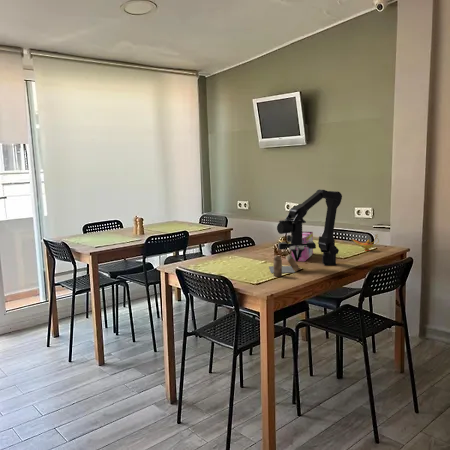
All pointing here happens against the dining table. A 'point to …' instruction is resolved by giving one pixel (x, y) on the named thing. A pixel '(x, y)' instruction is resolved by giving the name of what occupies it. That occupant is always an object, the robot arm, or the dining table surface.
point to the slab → (292, 262)
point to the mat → (283, 269)
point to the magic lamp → (367, 244)
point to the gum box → (308, 252)
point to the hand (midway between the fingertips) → (296, 261)
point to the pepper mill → (277, 266)
